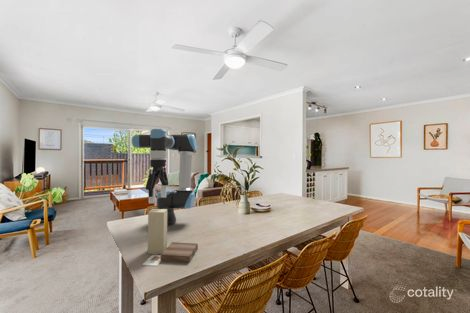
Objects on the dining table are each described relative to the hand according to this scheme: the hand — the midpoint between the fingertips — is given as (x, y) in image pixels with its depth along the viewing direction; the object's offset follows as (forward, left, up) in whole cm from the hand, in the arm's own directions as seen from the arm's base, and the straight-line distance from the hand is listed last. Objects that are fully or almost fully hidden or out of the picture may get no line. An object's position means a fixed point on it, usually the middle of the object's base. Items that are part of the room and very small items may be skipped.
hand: (157, 200), depth 110 cm
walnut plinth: (+3, +13, -26) cm, 29 cm away
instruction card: (+10, +3, -26) cm, 28 cm away
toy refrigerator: (0, 0, -26) cm, 27 cm away
